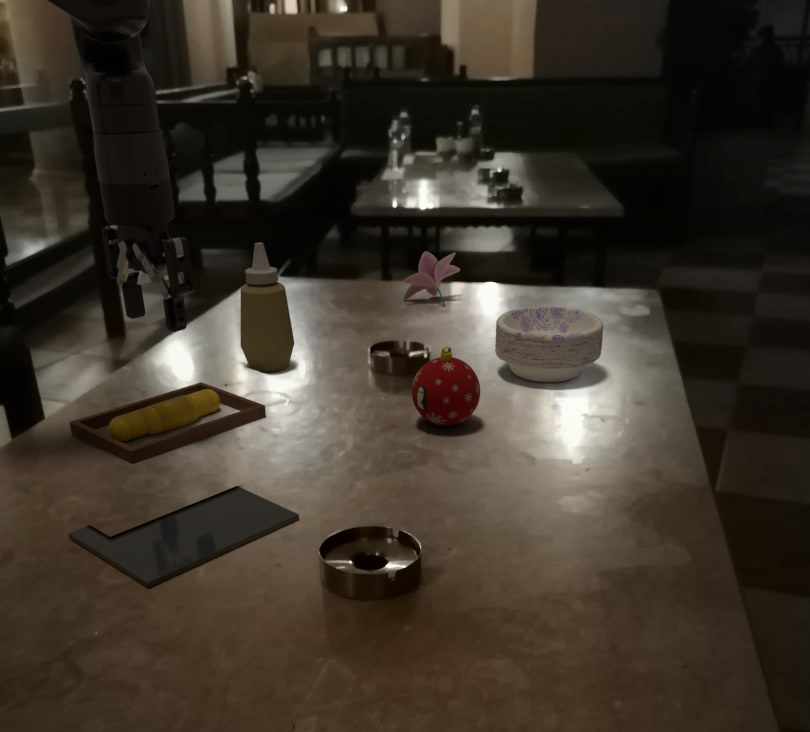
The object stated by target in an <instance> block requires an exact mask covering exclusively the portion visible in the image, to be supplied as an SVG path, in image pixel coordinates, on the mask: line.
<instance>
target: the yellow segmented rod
mask: <svg viewBox="0 0 810 732" xmlns="http://www.w3.org/2000/svg"><path fill="white" fill-rule="evenodd" d="M220 406H221V403H220V398H219V396H218V394H217V393H216V392H215V391H213V390H210V389H205V390H201V391H198V392H195V393H191V394H188V395H184V396H179V397H176V398H173V399H170V400H166V401H163V402H160V403H157V404H153V405H150V406H147V407H145V408H143V409H140V410H136V411H133V412H130V413H127V414H123V415H120V416H117V417H115V418H114V419H112V420H111V422H110V424H109V425H108V434H109V435H110V437H112V438H114V439H116V440H118V441H120V442H122V443H124V442H130V441H132V440H135V439H138V438H142V437H144V436H147V435H158V434H162V433H166V432H168V431H171V430H175V429H177V428H181V427H183V426H186V425H189V424H191V423H194V422H196V421H197V420H198V418H201V417H204V416H208V415H211V414H213V413H215V412H217V411H218V410H219V408H220Z"/></svg>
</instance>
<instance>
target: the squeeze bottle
mask: <svg viewBox="0 0 810 732" xmlns="http://www.w3.org/2000/svg"><path fill="white" fill-rule="evenodd" d="M270 265H271V264H270V263H269V259H268V256H267V252H266V248H265V245H264V243H263V242H255V243H254V248H253V256H252V266H251V267H248V268H246V269H245V270H244V272H245V274H244V275H245V281H246V282H245V284H243V285H242V286H241V287H240V348H241V350H242V353H243V355H244V357H245V360H246V361H247V364H248V366H249V368H250V369H251V370H253V371H257V372H276V371H282V370H284V369H286V368H288V367H289V366H290V363H291V358H292V355H293V352H294V351H293V350H294V346H295V338H294V332H293V326H292V320H291V315H290V309H289V303H288V296H287V291H286V287H285V285H284V284H283V283H282V282H279V272H278V268H277V267H274V266H270Z"/></svg>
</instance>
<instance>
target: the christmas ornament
mask: <svg viewBox="0 0 810 732" xmlns="http://www.w3.org/2000/svg"><path fill="white" fill-rule="evenodd" d="M411 398H412V402H413V405H414V407H415V409H416V411H417V412H418V414H419V415H420V416H421V417H422V418H423V419H424V420H426V421H427V422H429V423H431V424H433V425H436V426H441V427H451V426H455V425H458V424H461V423H463V422H465V421H466V420H467V419H469V418H470V417H471V416H472V415H473V413H474V412H475V410H476V409H477V407H478V406H479V402H480V398H481V384H480V380H479V378H478V375H477V373H476V372H475V370H474V369H473V368H472V367H471V366H470V365H469V364H468V363H467V362H465V361H464V360H462V359H459V358H457V357H453V352H452V348H451V347H450V346H445V347H442V348H441V352H440V356H439V357H436V358H432V359H431V360H429V361H427V362H426V363H425V364H423V365H422V366H421V367H420V368H419V370H418V371H417V372H416V374H415V376H414V379H413V380H412V385H411Z"/></svg>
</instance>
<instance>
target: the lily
mask: <svg viewBox="0 0 810 732" xmlns="http://www.w3.org/2000/svg"><path fill="white" fill-rule="evenodd" d="M456 253H457V252H452V253H450V254H448V255H447V256H444V257H443V258H442V259H440V260H438V258H437V257H436V256H435V255H434V254H432V253H431V252H430V251H427V250H426V251H425V250H424V252H422V255H421V257H420V259H419V261H418V267H417V269H418V272H416V273H413V274H411V275H408V276H407V277H406V278H405V277H404V279H403V280H402V283H405V284H409V287H408V288H407V289H406V291H405V294H404V295H403V301H406V300H408V299H409V298H411V297H413V296H414V295H416V294H417V293H420V292H422V291H423V290H425V291H426V292H427V293H428V294H429V295H431V296H433V297H436V296H437V294H439V297H440V300H441V303H442V305H443V307H446V304H445V301H444V297H443V295H442V293H441V290H440V285H441V281H442V280H444V279H446V278H448V277H450V276H452V275H454V274H457V273H459V272H460V271H461V268H460V267H458V266H456V265H453V264H451V262H452V261H453V259H454V257H455V256H456Z"/></svg>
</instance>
